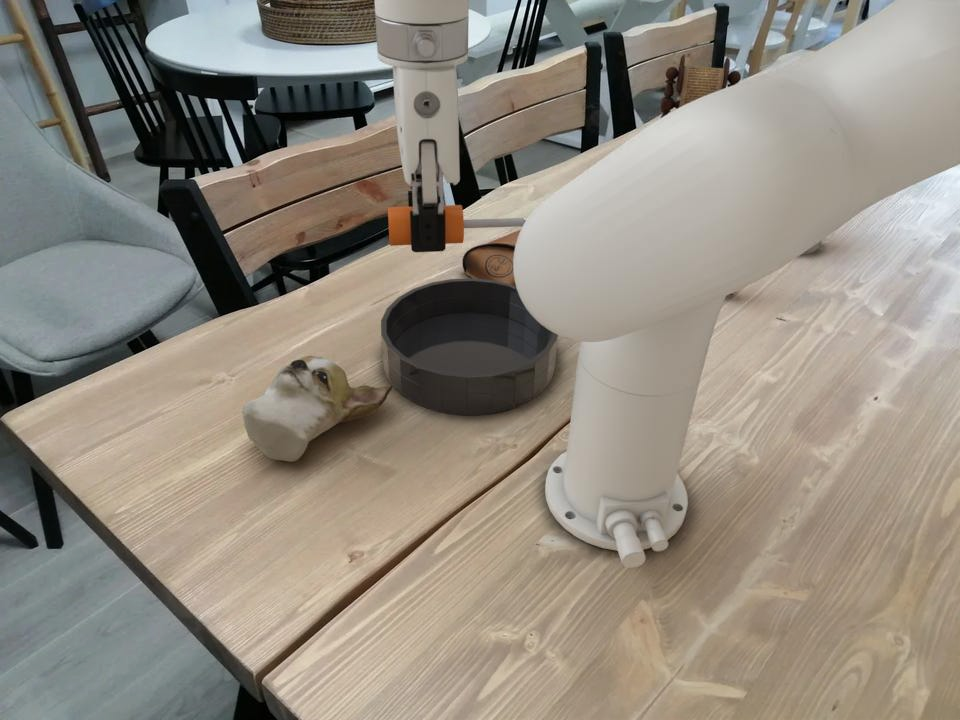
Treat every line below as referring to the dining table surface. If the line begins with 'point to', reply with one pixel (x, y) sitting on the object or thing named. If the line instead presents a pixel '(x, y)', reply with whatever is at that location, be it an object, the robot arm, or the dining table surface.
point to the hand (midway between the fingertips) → (426, 237)
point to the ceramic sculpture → (306, 406)
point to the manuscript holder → (695, 83)
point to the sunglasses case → (492, 260)
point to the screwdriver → (453, 224)
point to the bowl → (466, 347)
